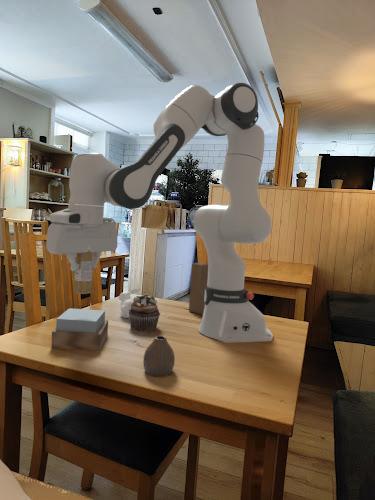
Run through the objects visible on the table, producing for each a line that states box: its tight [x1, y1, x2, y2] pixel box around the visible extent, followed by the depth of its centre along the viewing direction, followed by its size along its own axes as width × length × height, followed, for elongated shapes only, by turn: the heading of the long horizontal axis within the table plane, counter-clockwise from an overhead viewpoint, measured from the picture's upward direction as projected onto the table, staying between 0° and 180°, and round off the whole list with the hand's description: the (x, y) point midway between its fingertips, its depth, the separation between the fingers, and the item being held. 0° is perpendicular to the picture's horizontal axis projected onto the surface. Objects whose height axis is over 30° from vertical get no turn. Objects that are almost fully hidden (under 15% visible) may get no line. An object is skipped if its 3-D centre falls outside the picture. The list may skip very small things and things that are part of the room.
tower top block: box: [55, 307, 106, 333], centre depth 98 cm, size 10×10×3 cm
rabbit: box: [118, 287, 141, 319], centre depth 125 cm, size 10×7×10 cm
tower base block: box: [50, 319, 109, 351], centre depth 98 cm, size 12×12×5 cm
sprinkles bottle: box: [74, 245, 93, 295], centre depth 96 cm, size 5×5×14 cm
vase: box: [142, 335, 176, 378], centre depth 82 cm, size 7×7×9 cm
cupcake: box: [128, 294, 161, 333], centre depth 113 cm, size 10×10×10 cm
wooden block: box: [188, 262, 208, 316], centre depth 134 cm, size 9×4×18 cm, turn 51°
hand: (83, 269), depth 96 cm, fingers closed on sprinkles bottle, 4 cm apart
